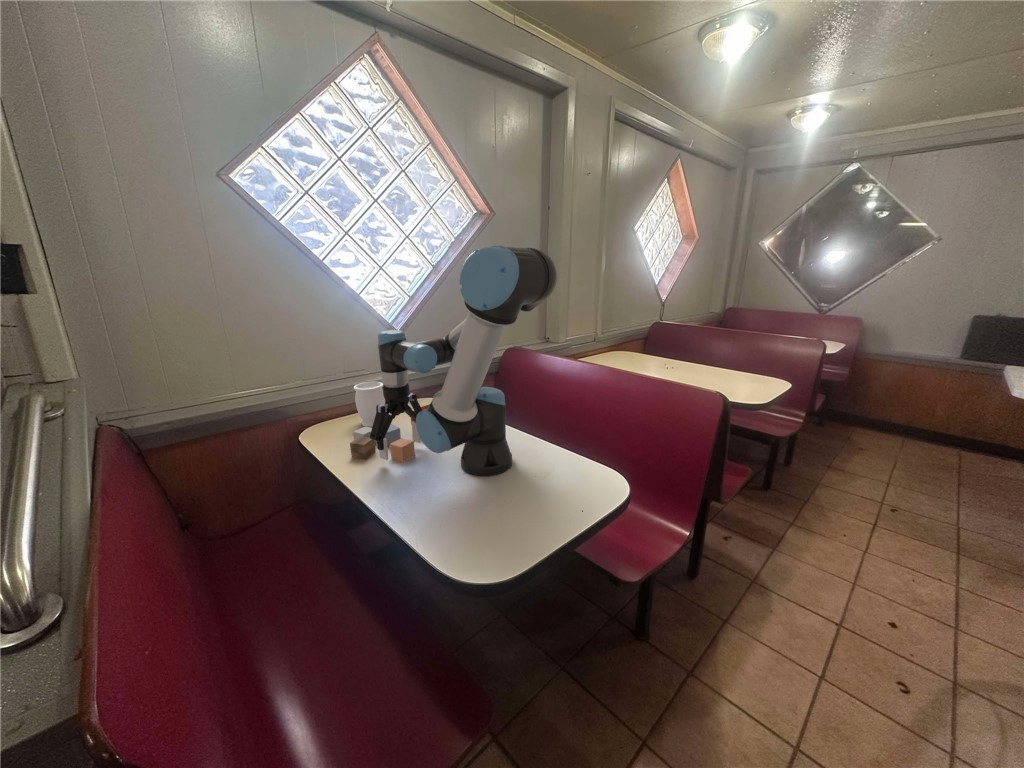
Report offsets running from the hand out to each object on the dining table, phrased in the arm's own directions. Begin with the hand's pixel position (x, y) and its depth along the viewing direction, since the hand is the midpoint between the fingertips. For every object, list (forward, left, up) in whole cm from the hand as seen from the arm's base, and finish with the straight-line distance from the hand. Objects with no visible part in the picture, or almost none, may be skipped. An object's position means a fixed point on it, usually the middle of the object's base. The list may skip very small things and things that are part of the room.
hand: (401, 449), depth 122 cm
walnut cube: (+11, +5, -2) cm, 13 cm away
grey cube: (+17, -1, -2) cm, 18 cm away
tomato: (+5, -19, -3) cm, 20 cm away
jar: (+30, -15, -3) cm, 34 cm away
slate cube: (+11, -6, -2) cm, 13 cm away
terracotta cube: (-1, 0, -2) cm, 3 cm away
